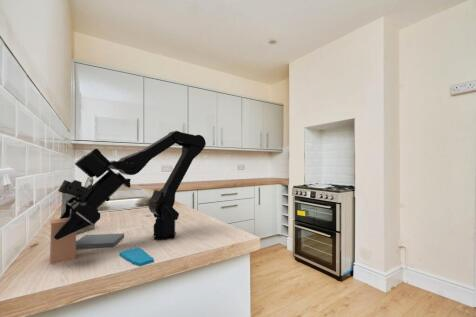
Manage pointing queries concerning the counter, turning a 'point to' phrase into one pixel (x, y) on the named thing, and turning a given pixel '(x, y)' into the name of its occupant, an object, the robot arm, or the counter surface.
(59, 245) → the terracotta block
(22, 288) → the counter surface
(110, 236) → the slate board
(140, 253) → the sponge
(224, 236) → the counter surface
